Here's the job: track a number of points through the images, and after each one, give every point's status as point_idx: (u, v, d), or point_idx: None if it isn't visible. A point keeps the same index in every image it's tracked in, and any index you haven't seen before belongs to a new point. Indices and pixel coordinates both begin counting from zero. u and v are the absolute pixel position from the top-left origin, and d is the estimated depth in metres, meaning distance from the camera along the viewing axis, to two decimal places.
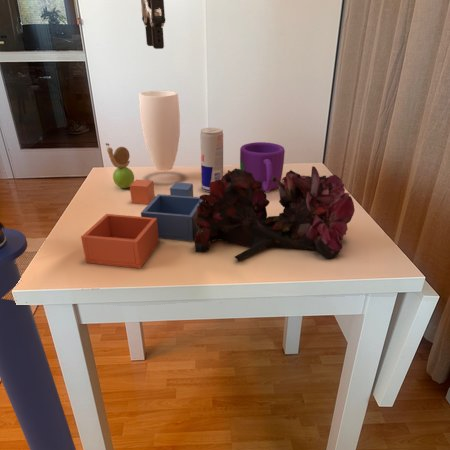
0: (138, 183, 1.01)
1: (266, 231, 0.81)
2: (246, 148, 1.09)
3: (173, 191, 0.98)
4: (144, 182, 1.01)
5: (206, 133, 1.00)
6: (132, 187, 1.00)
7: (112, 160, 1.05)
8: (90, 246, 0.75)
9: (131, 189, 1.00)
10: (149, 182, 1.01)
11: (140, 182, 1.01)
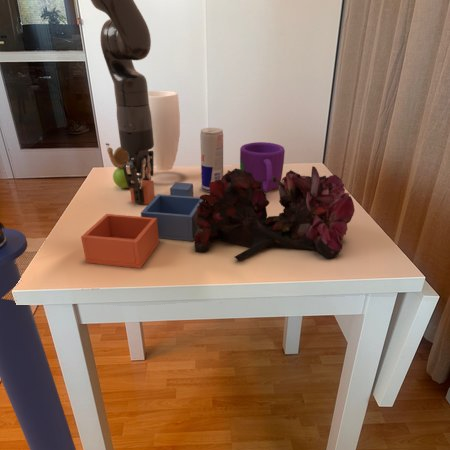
0: None
1: (266, 231, 0.81)
2: (246, 148, 1.09)
3: (173, 191, 0.98)
4: (144, 182, 1.01)
5: (206, 133, 1.00)
6: None
7: (112, 160, 1.05)
8: (90, 246, 0.75)
9: (131, 189, 1.00)
10: (149, 182, 1.01)
11: None
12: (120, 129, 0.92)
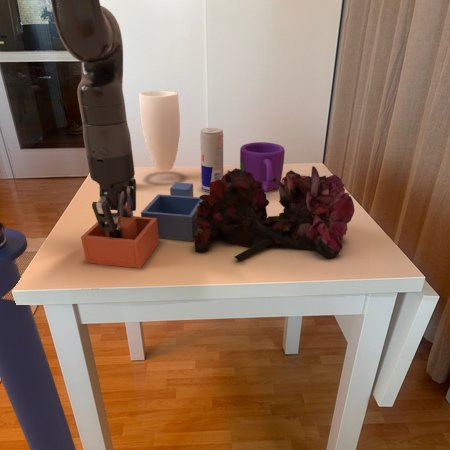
0: None
1: (266, 231, 0.81)
2: (246, 148, 1.09)
3: (173, 191, 0.98)
4: (124, 221, 0.78)
5: (206, 133, 1.00)
6: None
7: None
8: (90, 246, 0.75)
9: None
10: (130, 220, 0.78)
11: None
12: (88, 154, 0.68)
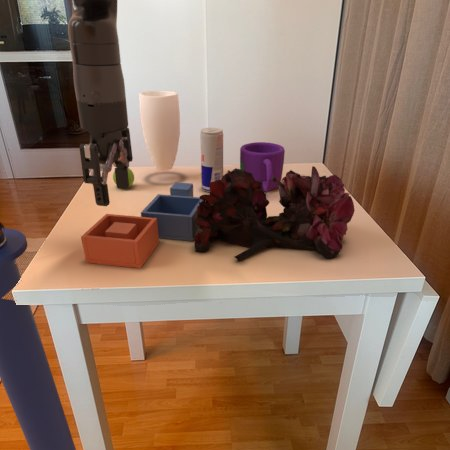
0: (117, 228, 0.78)
1: (266, 231, 0.81)
2: (246, 148, 1.09)
3: (173, 191, 0.98)
4: (125, 227, 0.78)
5: (206, 133, 1.00)
6: (109, 233, 0.77)
7: None
8: (90, 246, 0.75)
9: (107, 236, 0.77)
10: (131, 226, 0.78)
11: (119, 227, 0.78)
12: (78, 99, 0.64)
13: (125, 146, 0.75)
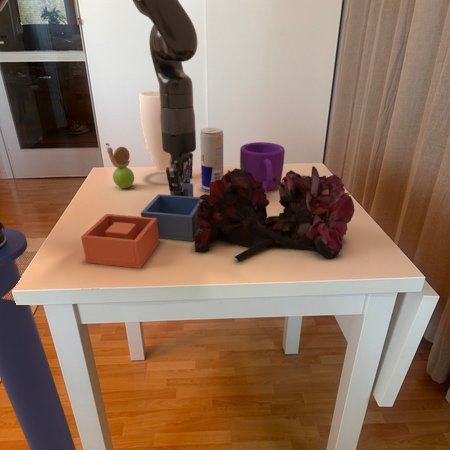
0: (117, 228, 0.78)
1: (266, 231, 0.81)
2: (246, 148, 1.09)
3: None
4: (125, 227, 0.78)
5: (206, 133, 1.00)
6: (109, 233, 0.77)
7: (112, 160, 1.05)
8: (90, 246, 0.75)
9: (107, 236, 0.77)
10: (131, 226, 0.78)
11: (119, 227, 0.78)
12: (164, 131, 0.90)
13: None
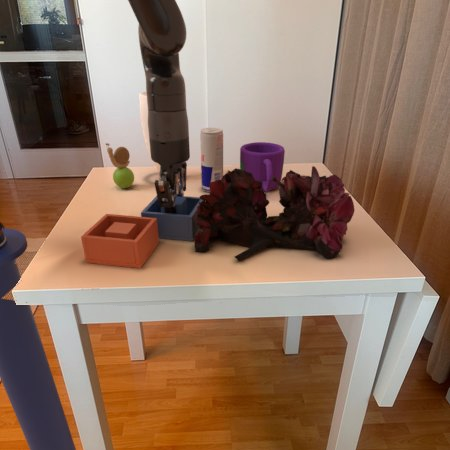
0: (117, 228, 0.78)
1: (266, 231, 0.81)
2: (246, 148, 1.09)
3: None
4: (125, 227, 0.78)
5: (206, 133, 1.00)
6: (109, 233, 0.77)
7: (112, 160, 1.05)
8: (90, 246, 0.75)
9: (107, 236, 0.77)
10: (131, 226, 0.78)
11: (119, 227, 0.78)
12: (152, 138, 0.77)
13: None
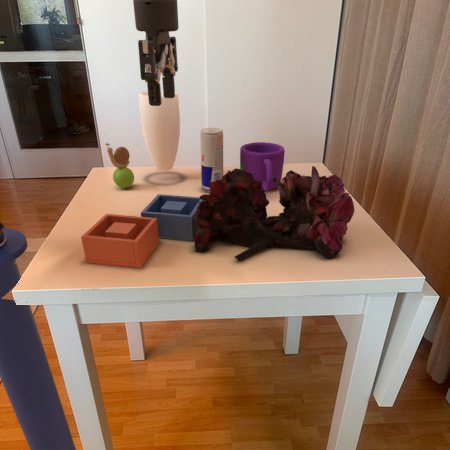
0: (117, 228, 0.78)
1: (266, 231, 0.81)
2: (246, 148, 1.09)
3: (164, 212, 0.86)
4: (125, 227, 0.78)
5: (206, 133, 1.00)
6: (109, 233, 0.77)
7: (112, 160, 1.05)
8: (90, 246, 0.75)
9: (107, 236, 0.77)
10: (131, 226, 0.78)
11: (119, 227, 0.78)
12: None
13: None
